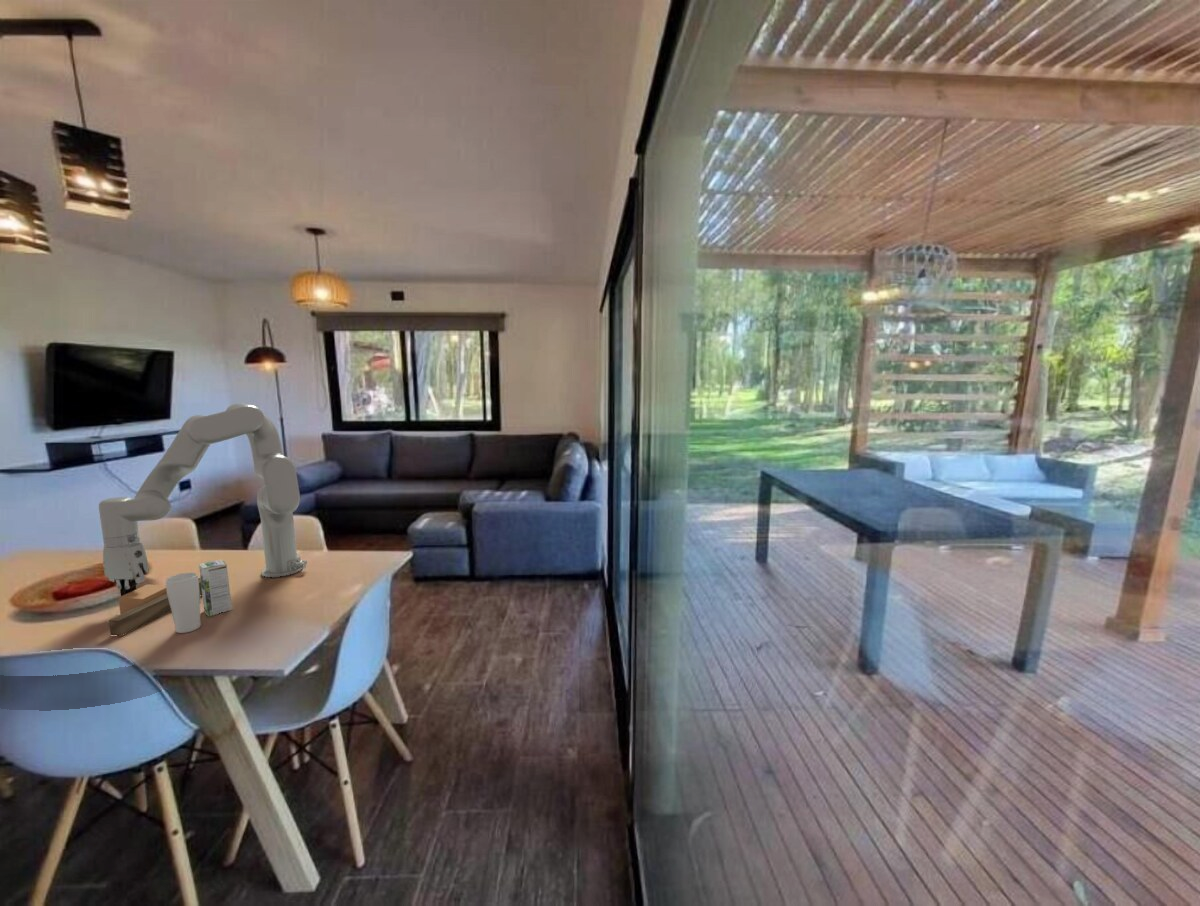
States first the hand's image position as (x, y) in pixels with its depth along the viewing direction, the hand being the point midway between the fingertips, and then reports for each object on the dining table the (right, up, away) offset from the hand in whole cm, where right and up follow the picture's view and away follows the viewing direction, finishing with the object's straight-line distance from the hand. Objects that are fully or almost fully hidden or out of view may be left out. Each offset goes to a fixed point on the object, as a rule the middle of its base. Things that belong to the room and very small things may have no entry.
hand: (129, 600), depth 149 cm
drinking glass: (+26, -5, -11) cm, 29 cm away
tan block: (+5, -3, 0) cm, 6 cm away
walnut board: (+11, -3, -1) cm, 11 cm away
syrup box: (+26, -3, 0) cm, 26 cm away
